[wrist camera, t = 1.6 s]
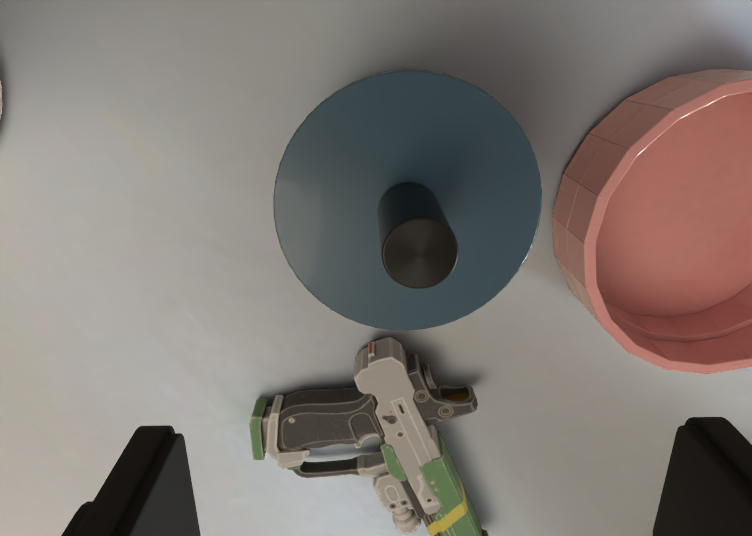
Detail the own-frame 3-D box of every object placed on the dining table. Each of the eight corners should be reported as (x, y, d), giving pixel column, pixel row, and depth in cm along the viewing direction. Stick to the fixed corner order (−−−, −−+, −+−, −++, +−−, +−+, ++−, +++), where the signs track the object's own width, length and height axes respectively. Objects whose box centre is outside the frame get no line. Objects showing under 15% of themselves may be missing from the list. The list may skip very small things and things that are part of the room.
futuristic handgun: (338, 605, 41) (535, 550, 39) (219, 411, 34) (448, 332, 32) (340, 571, 44) (525, 518, 41) (229, 385, 37) (443, 310, 35)
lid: (286, 322, 26) (266, 400, 20) (265, 70, 22) (233, 80, 16) (522, 316, 26) (567, 391, 21) (546, 66, 22) (611, 74, 16)
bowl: (496, 213, 33) (521, 244, 28) (722, 3, 29) (800, -5, 24) (649, 368, 37) (695, 420, 32) (863, 205, 33) (955, 234, 28)
